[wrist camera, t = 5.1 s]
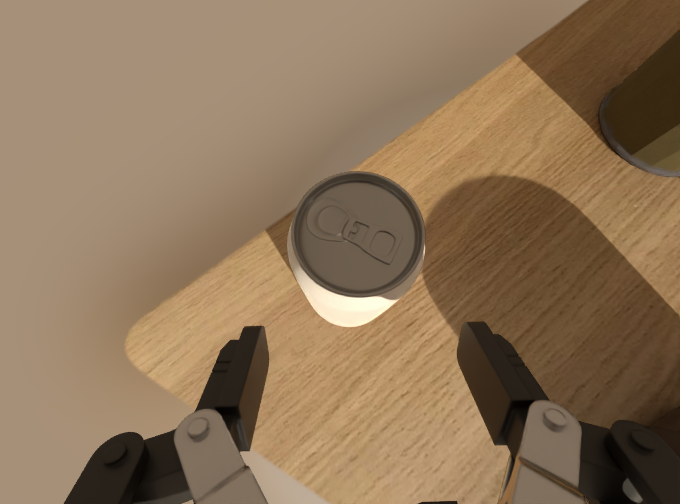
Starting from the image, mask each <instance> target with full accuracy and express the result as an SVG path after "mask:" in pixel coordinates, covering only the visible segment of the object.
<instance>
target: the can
mask: <svg viewBox="0 0 680 504" xmlns="http://www.w3.org/2000/svg"><path fill="white" fill-rule="evenodd" d="M287 251H288V258H289V262H290V266H291V269H292V271H293V274H294V276H295V278H296V280H297V282H298V284H299V285H300V287H301V289H302V290H303V292H304V294H305V296H306V297H307V299H308V301H309V302H310V304H311V305H312V307H313V308H314V310H315V311H316V312H317V313H318V314H319V315H320V316H321V317H322V318H324V319H325V320H327V321H328V322H330V323H332V324H335V325H338V326H343V327H355V326H360V325H363V324H366V323H368V322H370V321H371V320H373V319H375V318H376V317H377V316H379V315H380V314H381V313H383V312H384V311H385V310H386V309H388V308H389V307H390V306H392V305H393V304H394V303H395V302H396V301H398V300H399V299H400V298H401V297H402V296H403V295H404V294H405V293H406V292H407V291H408V290H409V289H410V288H411V286H412V285H413V283H414V282H415V280H416V279H417V277H418V275H419V273H420V270H421V268H422V264H423V260H424V254H425V226H424V221H423V217H422V215H421V212H420V210H419V208H418V206H417V204H416V203H415V201H414V200H413V198H412V197H411V196H410V195H409V194H408V193H407V191H405V190H404V189H403V188H402V187H401V186H400V185H398V184H397V183H395V182H394V181H392V180H390V179H388V178H386V177H384V176H381V175H378V174H375V173H370V172H363V171H351V172H344V173H339V174H336V175H333V176H330V177H328V178H326V179H324V180H322V181H320V182H319V183H317V184H316V185H315V186H314V187H312V188H311V189H310V190H309V191H308V192H307V193H306V194H305V195H304V197H303V198H302V200H301V201H300V203H299V204H298V206H297V208H296V211H295V213H294V216H293V220H292V222H291V225H290V228H289V233H288V239H287Z"/></svg>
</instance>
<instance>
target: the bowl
mask: <svg viewBox="0 0 680 504" xmlns="http://www.w3.org/2000/svg"><path fill="white" fill-rule="evenodd" d="M649 429H650V430H652V431H653V432H655V433H656V434H657V435H659V436H660V437H661V438H662V439H663V440H664V441H665V442H666V443H667V444H668V445H669V446H670V448H671V449H672V450H673V451H674V452H675V453H676V455H677V456H678V457H679V458H680V407H678V408H676V409H674V410H673V411H671V412H670V413H669V414H667V415H666V416H664V417H663V418H661V419H660V420H658V421H657V422H656V423H654V424H653V425H652V426H650V428H649Z"/></svg>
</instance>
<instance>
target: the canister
mask: <svg viewBox="0 0 680 504" xmlns="http://www.w3.org/2000/svg"><path fill="white" fill-rule="evenodd" d="M599 120H600V125H601V130H602V133H603V134H604V136H605V137H606V139H607V141H608V142H609V144H610V145H611V147H612V148H613V149H614V150H615V151H616V152H617V153H618V154H619V155H620V156H621V157H622V158H624V159H625V160H626V161H627V162H629V163H630V164H631V165H633V166H636V167H638V168H640V169H642V170H644V171H647V172H650V173H653V174H656V175H660V176H667V177H679V176H680V30H679V31H678V32H677V33H675V34H674V35H673V36H672V37H671V38H670V39H669V40H668V41H667V42H666V43H665V44H663V45H662V46H661V47H660V48H659V49H658V50H657V51H656V52H655V53H654V54H653V55H652V56H650V57H649V58H648V59H647V60H646V61H645V62H644V63H643V64H642V65H641V66H640V67H638V68H637V69H636V70H635V71H634V72H633V73H632V74H631V75H630V76H629V77H628V78H627V79H625V80H624V81H623V82H622V83H621V84H619V85H617V86H616V87H614V88H613V89H611V90H610V91H609V92H608V93H607V95H606V96H605V98H604V100H603V102H602V104H601V106H600V111H599Z"/></svg>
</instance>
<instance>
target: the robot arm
mask: <svg viewBox="0 0 680 504" xmlns="http://www.w3.org/2000/svg"><path fill="white" fill-rule="evenodd" d="M457 359H458V364H459V366H460V369H461V371H462V373H463V375H464V378H465V380H466V382H467V384H468V387H469V389H470V391H471V393H472V395H473V398H474V400H475V402H476V404H477V407H478V409H479V411H480V413H481V416H482V418H483V420H484V422H485V424H486V427H487V429H488V431H489V433H490V436H491V438H492V440H493V442H494V445H507V446H508V448H509V451H510V456H509V459H508V463H507V467H506V471H505V475H504V479H503V483H502V487H501V491H500V495H499V499H498V503H497V504H585V497H586V498H587V499H588V501H589V503H590V504H680V458H679V457H678V456H677V455H676V453H675V452H674V451H673V450H672V449H671V448H670V446H669V445H668V444H667V443H666V442H665V441H664V440H663V439H662V438H661V437H660V436H659V435H657V434H656V433H655V432H653V431H652V430H650V429H649V428H647V427H645V426H643V425H641V424H639V423H636V422H633V421H629V420H619V421H616V422H614V423H613V424H612V426H611V428H610V429H607V428H603V427H599V426H596V425H592V424H588V423H584V422H581V421H578V420H577V419H576V418H575V417H574V415H573V414H572V413H570V412H569V411H568V410H567V409H565V408H564V407H562V406H561V405H559V404H557V403H554V402H551V401H550V400H549V399H548V397H547V396H546V394H545V393H544V391H543V390H542V388H541V387H540V385H539V384H538V383H537V381H536V380H535V378H534V377H533V375H532V374H531V372H530V371H529V369H528V368H527V366H525V364H524V362H523V361H522V359H521V358H520V357H519V356H518V353H517V352H516V350H515V349H514V347H513V346H512V345H511V343H509V342H508V341H507V340H506V339H504V338H503V337H502V336H501V335H499V334H493V333H492V331H491V330H490V328H489V327H488V325H487V324H486V323H485V322H483V321H482V322H464V323H463V325H462V330H461V334H460V339H459V343H458V348H457ZM268 367H269V352H268V346H267V340H266V334H265V328H264V326H245V327H244V328H243V330H242V333H241V336H240V338H239V340H230V341H229V342H228V343H227V344H226V345H225V346H224V347H223V348H222V349H221V351H220V353H219V356H218V358H217V360H216V364H215V365H214V368H213V370H212V373H211V375H210V377H209V380H208V382H207V384H206V387H205V389H204V391H203V394H202V396H201V399H200V401H199V403H198V406H197V408H196V410H195V412H194V413H192V414H190V415H189V416H187V417H186V418H185V419H184V420H183V421H182V422H181V423H180V424H179V426H178V427H177V428H176V429H175V430H173V431H170V432H167V433H164V434H161V435H158V436H155V437H152V438H149V439H146V440H143V438H142V436H141V435H139V434H138V433H135V432H126V433H122V434H119V435H116V436H114V437H112V438H111V439H109V440H107V441H106V442H105V443H104V444H102V445H101V446H100V447H99V448H98V449H97V450H96V451H95V453H94V454H93V455H92V457H91V458H90V460H89V462H88V463H87V465H86V467H85V468H84V470H83V472H82V473H81V475H80V477H79V479H78V480H77V482H76V484H75V485H74V487H73V489H72V491H71V492H70V494H69V496H68V497H67V499H66V501H65V502H64V504H182V503H184V502H187V501H189V500H192V499H193V502H194V504H268V502H267V500H266V498H265V497H264V495H263V493H262V491H261V489H260V487H259V485H258V483H257V481H256V479H255V477H254V475H253V473H252V471H251V469H250V468H249V466H246V464H245V463H244V461H243V459H242V457H241V455H240V451H250V447H251V443H252V438H253V434H254V430H255V425H256V421H257V416H258V412H259V408H260V403H261V399H262V394H263V390H264V385H265V381H266V377H267V372H268ZM584 496H585V497H584ZM418 504H458V503H457V501H439V502H421V503H418Z"/></svg>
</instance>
